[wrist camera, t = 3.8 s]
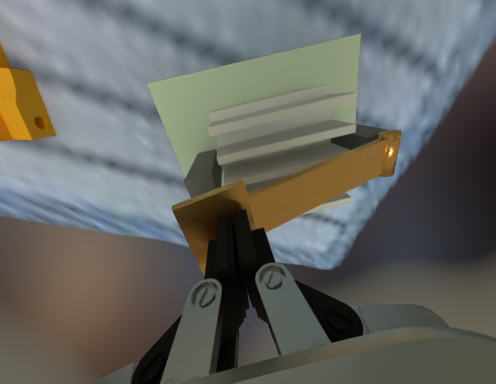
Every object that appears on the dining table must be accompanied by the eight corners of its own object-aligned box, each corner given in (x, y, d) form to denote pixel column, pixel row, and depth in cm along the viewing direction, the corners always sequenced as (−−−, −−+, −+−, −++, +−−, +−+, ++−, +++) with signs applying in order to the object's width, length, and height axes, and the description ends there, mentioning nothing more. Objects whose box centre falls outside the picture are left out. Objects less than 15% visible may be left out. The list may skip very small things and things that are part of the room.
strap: (387, 120, 15) (407, 121, 14) (379, 175, 17) (396, 180, 16) (171, 202, 10) (172, 214, 9) (201, 265, 12) (205, 281, 11)
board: (353, 36, 21) (455, -14, 12) (346, 188, 30) (400, 226, 21) (150, 84, 21) (91, 71, 12) (205, 222, 30) (196, 276, 21)
